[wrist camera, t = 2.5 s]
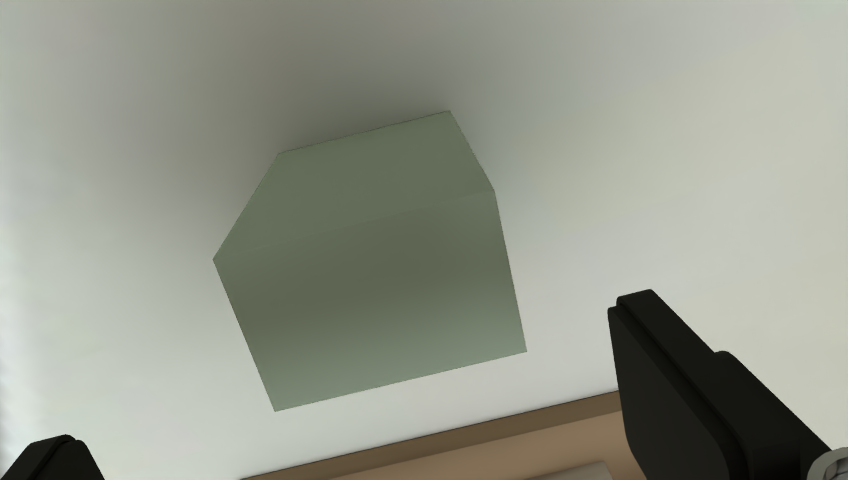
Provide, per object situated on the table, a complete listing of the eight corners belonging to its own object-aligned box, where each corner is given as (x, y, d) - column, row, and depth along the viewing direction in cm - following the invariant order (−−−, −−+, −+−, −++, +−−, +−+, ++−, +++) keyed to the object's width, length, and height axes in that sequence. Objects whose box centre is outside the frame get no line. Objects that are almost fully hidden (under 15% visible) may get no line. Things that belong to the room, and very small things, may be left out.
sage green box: (279, 153, 21) (212, 259, 13) (449, 110, 21) (494, 189, 13) (318, 269, 23) (281, 428, 15) (476, 230, 23) (530, 369, 14)
